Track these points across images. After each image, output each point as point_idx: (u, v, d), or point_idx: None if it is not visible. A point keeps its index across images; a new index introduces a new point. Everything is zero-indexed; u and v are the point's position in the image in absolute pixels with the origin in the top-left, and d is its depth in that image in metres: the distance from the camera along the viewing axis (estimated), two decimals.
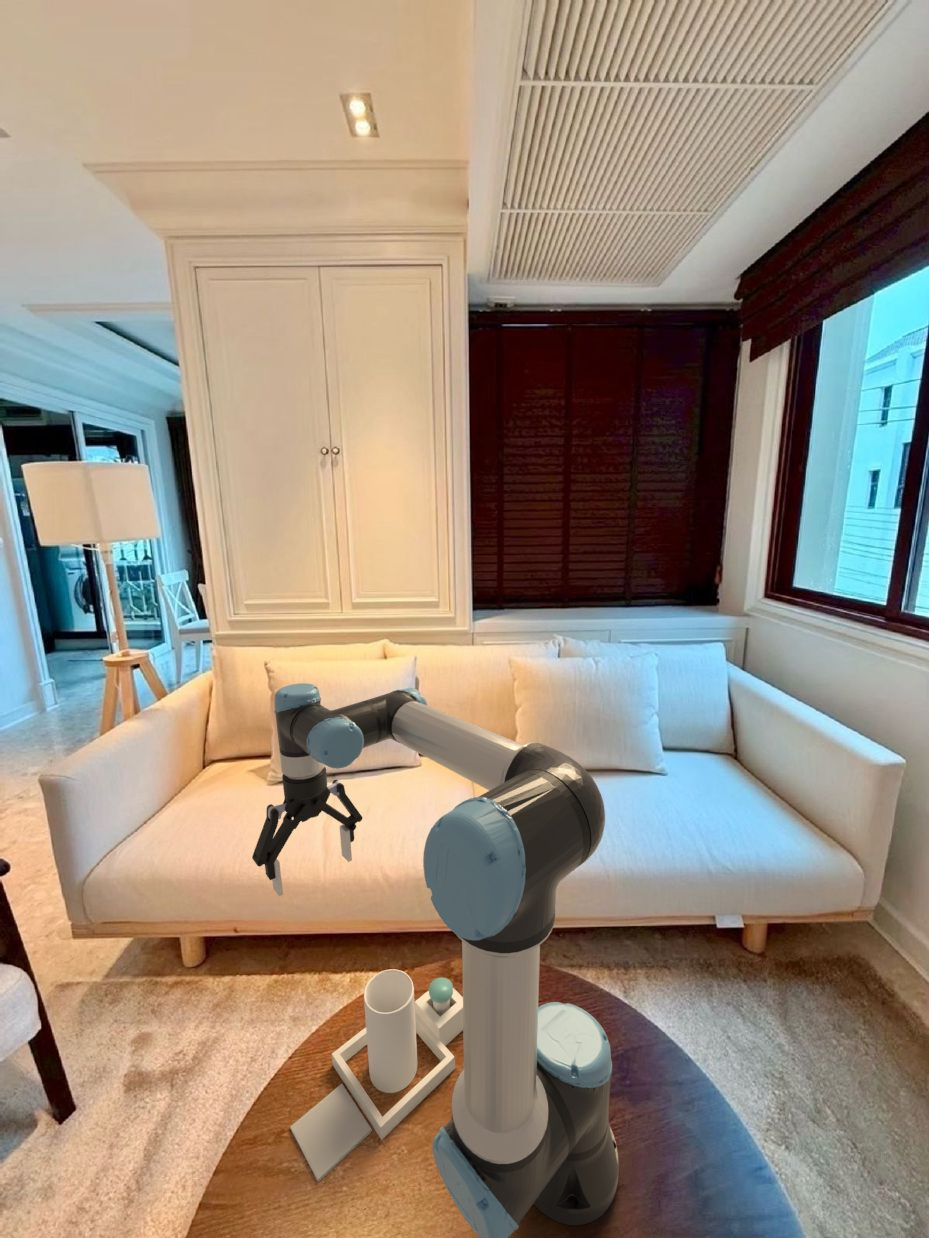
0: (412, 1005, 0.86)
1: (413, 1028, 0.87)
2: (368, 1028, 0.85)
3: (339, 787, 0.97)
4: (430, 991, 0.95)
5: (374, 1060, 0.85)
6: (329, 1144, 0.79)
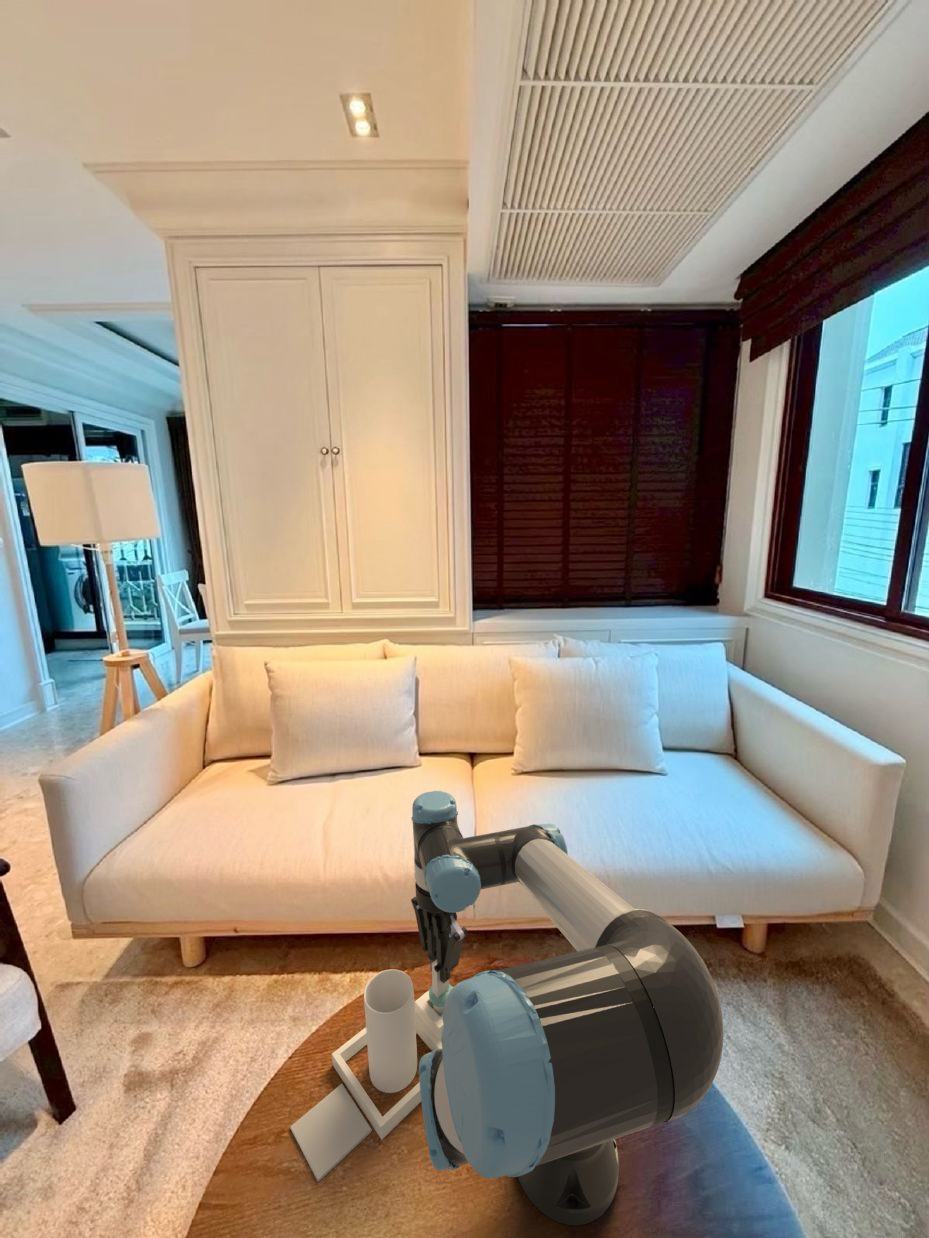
0: (412, 1005, 0.86)
1: (413, 1028, 0.87)
2: (368, 1028, 0.85)
3: (453, 936, 0.87)
4: (430, 995, 0.95)
5: (374, 1060, 0.85)
6: (329, 1144, 0.79)
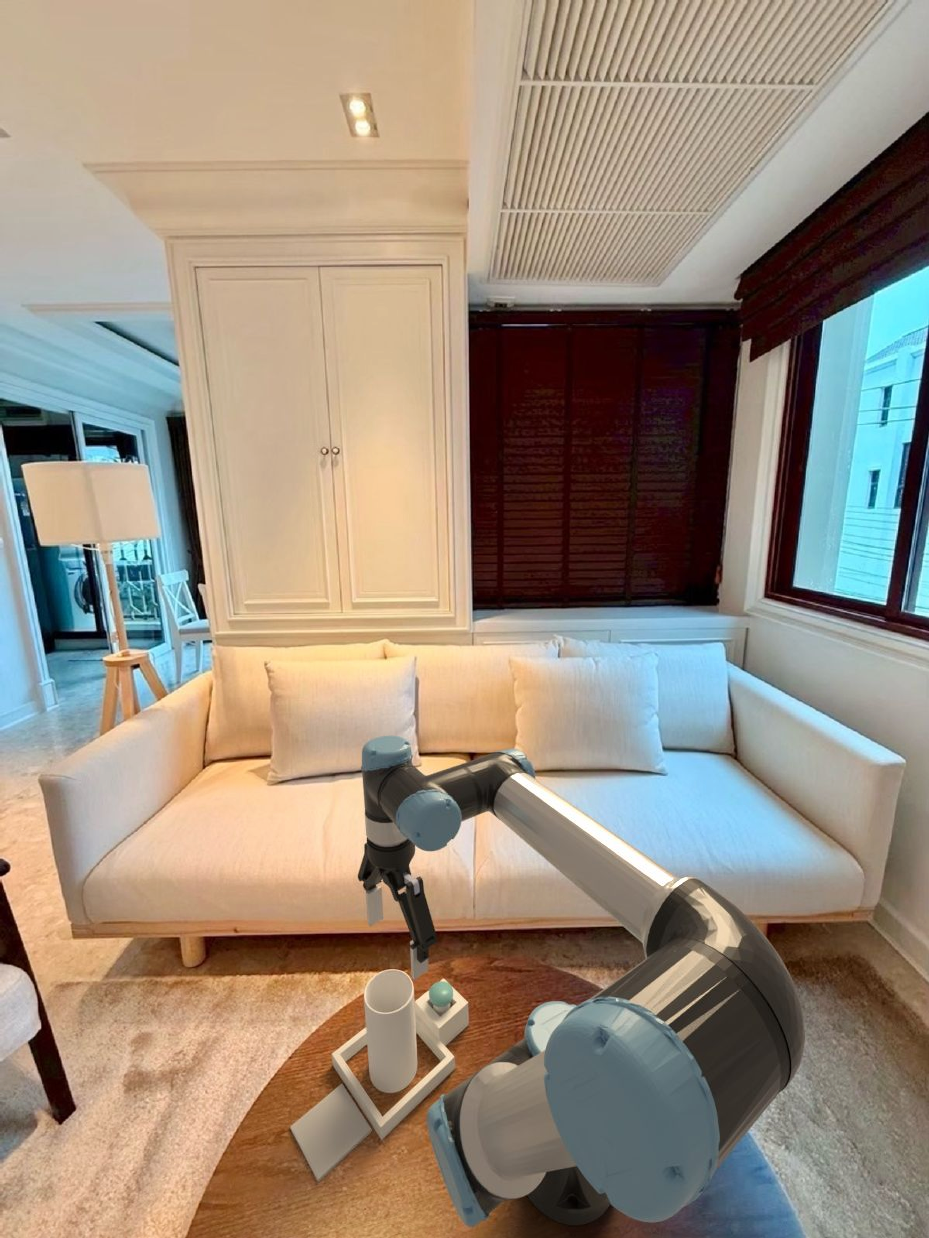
0: (412, 1005, 0.86)
1: (413, 1028, 0.87)
2: (368, 1028, 0.85)
3: (406, 885, 0.78)
4: (430, 995, 0.95)
5: (374, 1060, 0.85)
6: (329, 1144, 0.79)
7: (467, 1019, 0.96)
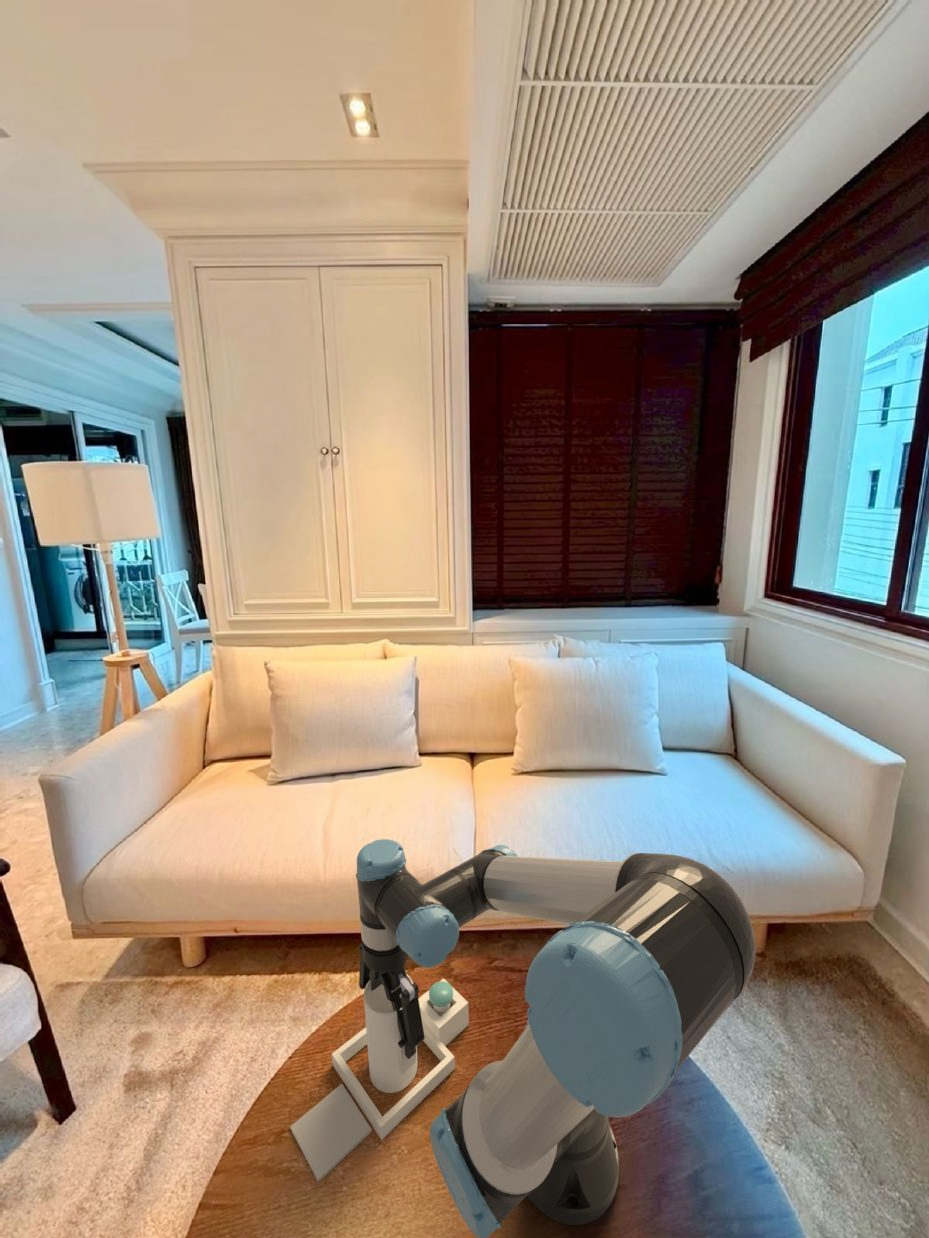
0: None
1: None
2: (368, 1028, 0.85)
3: (402, 993, 0.80)
4: (430, 995, 0.95)
5: (374, 1060, 0.85)
6: (329, 1144, 0.79)
7: (467, 1019, 0.96)
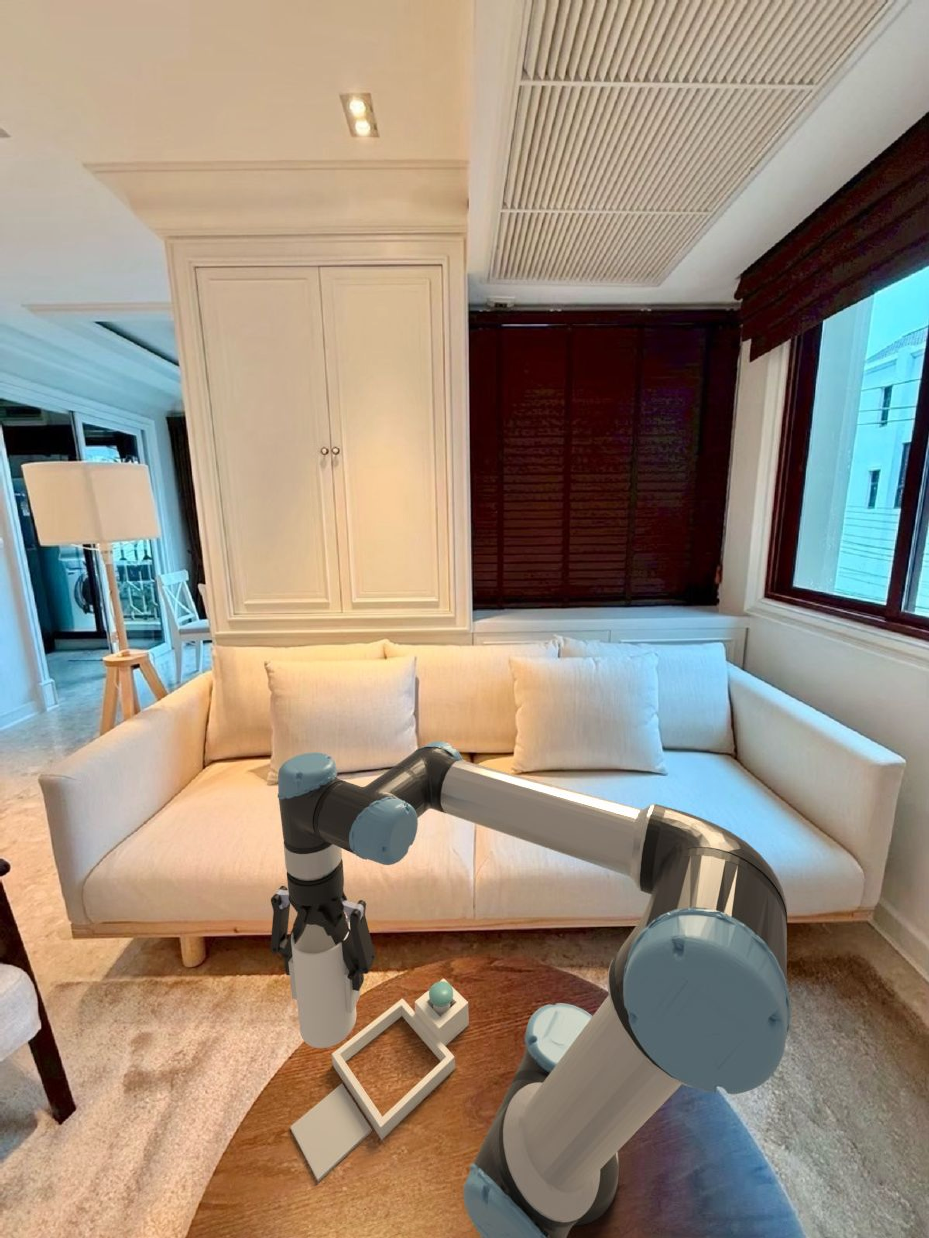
0: None
1: None
2: (306, 981, 0.72)
3: (352, 914, 0.71)
4: (430, 995, 0.95)
5: (316, 1015, 0.73)
6: (329, 1144, 0.79)
7: (467, 1019, 0.96)
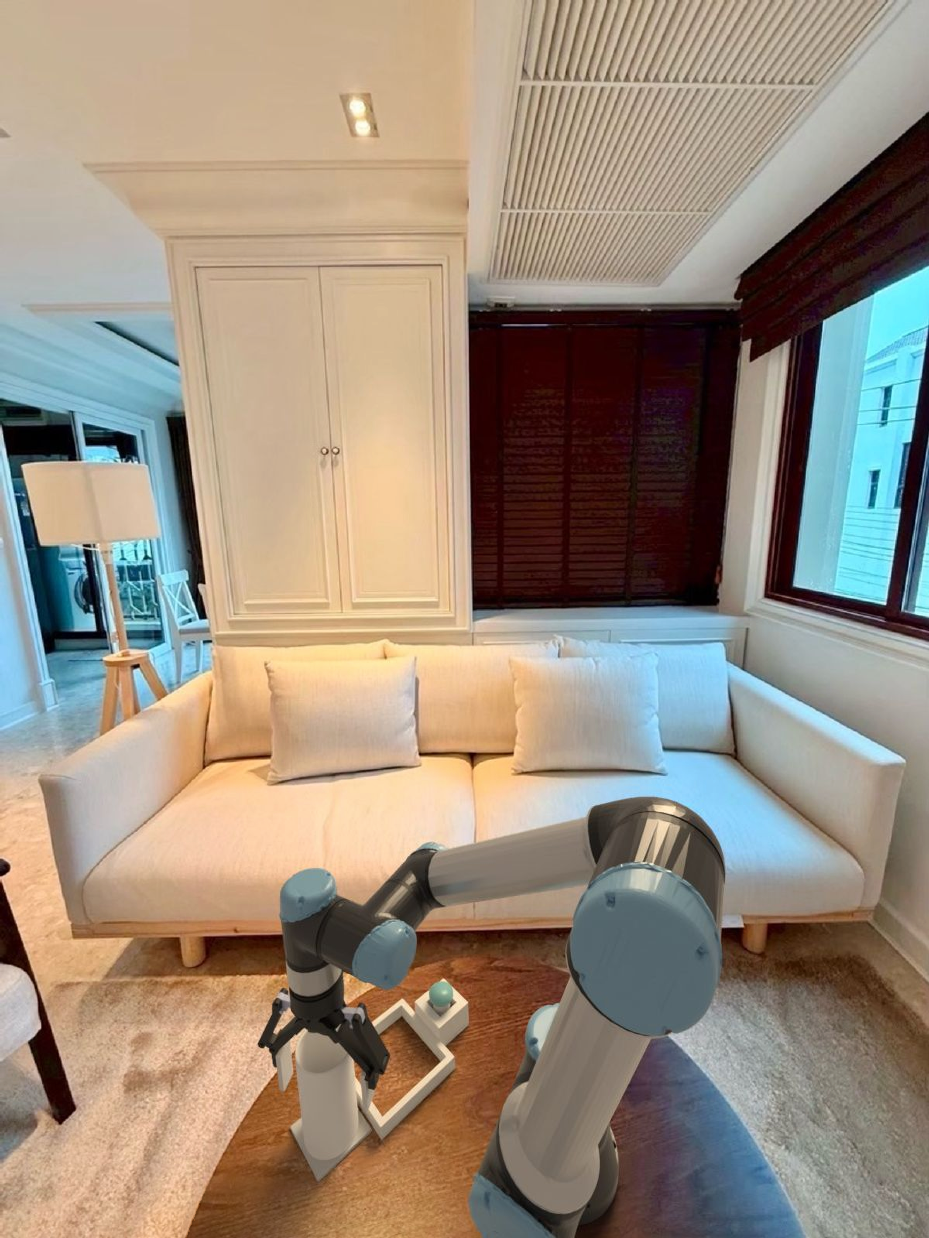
0: None
1: None
2: (310, 1099, 0.75)
3: (352, 1020, 0.73)
4: (430, 995, 0.95)
5: (320, 1130, 0.76)
6: None
7: (467, 1019, 0.96)
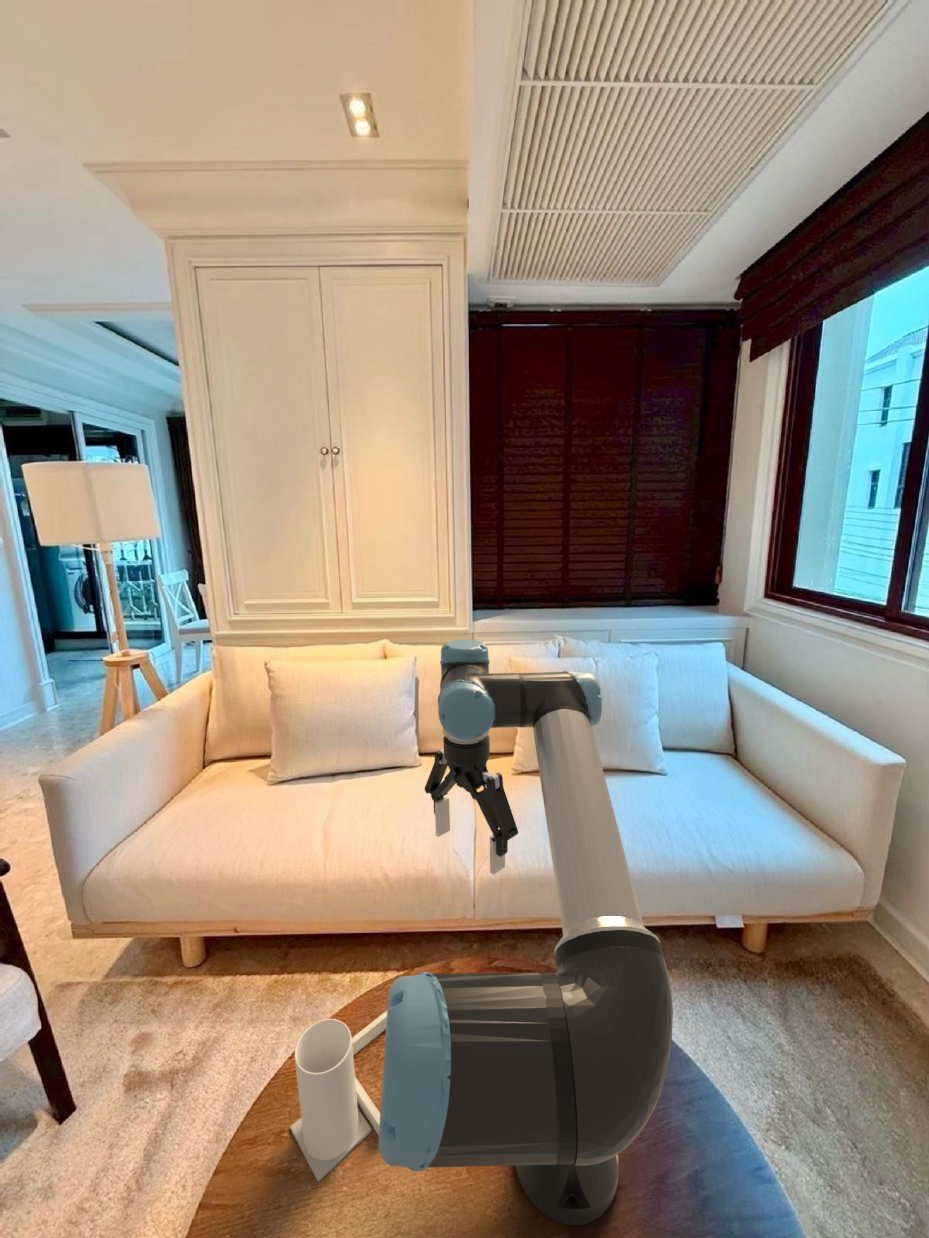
0: None
1: None
2: (310, 1099, 0.75)
3: (487, 780, 0.81)
4: None
5: (320, 1130, 0.76)
6: None
7: None
